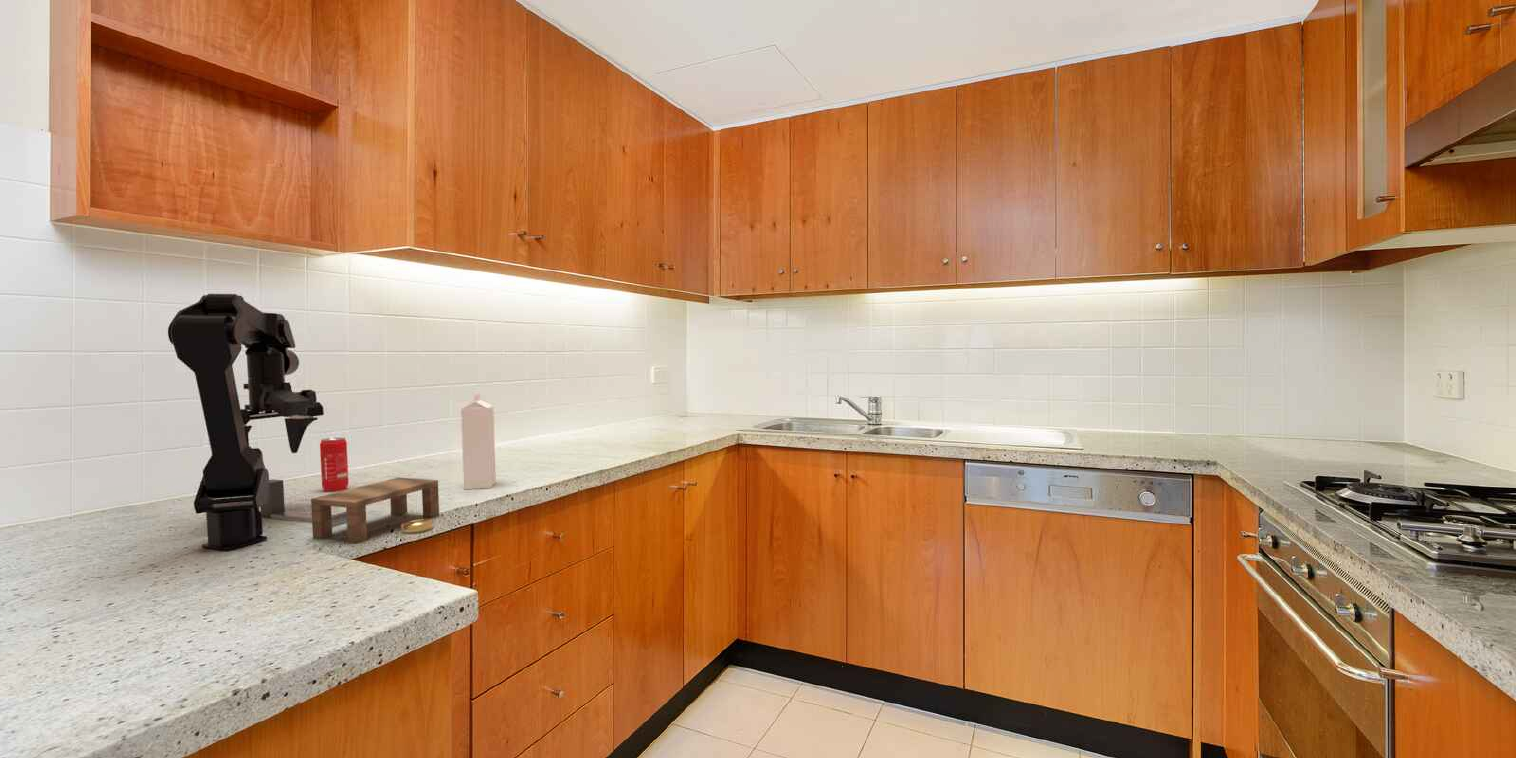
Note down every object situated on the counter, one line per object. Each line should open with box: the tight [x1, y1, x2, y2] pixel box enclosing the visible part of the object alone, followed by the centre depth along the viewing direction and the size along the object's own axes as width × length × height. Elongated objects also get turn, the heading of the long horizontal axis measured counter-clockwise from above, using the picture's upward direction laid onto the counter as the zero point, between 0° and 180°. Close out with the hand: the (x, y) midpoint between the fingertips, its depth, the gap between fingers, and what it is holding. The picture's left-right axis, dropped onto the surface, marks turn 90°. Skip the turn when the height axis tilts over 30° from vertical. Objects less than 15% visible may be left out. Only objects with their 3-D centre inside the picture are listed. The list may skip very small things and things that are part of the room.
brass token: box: [400, 518, 434, 535], centre depth 114 cm, size 5×5×2 cm
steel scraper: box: [260, 479, 347, 528], centre depth 122 cm, size 6×20×7 cm, turn 73°
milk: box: [460, 393, 497, 490], centre depth 149 cm, size 6×6×22 cm
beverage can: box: [319, 437, 349, 493], centre depth 148 cm, size 5×5×12 cm
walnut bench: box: [310, 477, 440, 544], centre depth 117 cm, size 18×10×7 cm, turn 163°
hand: (271, 456), depth 124 cm, fingers open, 9 cm apart
